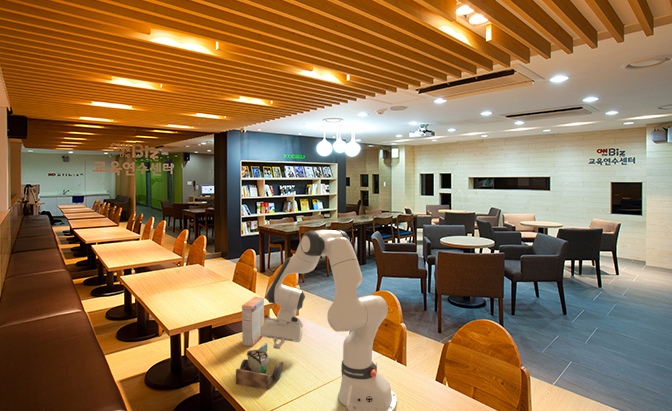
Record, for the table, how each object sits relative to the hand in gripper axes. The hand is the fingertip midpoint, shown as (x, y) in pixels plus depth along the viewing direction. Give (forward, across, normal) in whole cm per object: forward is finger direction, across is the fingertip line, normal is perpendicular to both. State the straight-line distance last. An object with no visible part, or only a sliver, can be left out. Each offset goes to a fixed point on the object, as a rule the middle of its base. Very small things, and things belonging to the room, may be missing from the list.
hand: (276, 348), depth 167 cm
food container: (+15, 0, -7) cm, 17 cm away
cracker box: (-6, -20, +14) cm, 25 cm away
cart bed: (+15, 0, -8) cm, 17 cm away
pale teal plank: (+5, -8, +3) cm, 10 cm away
